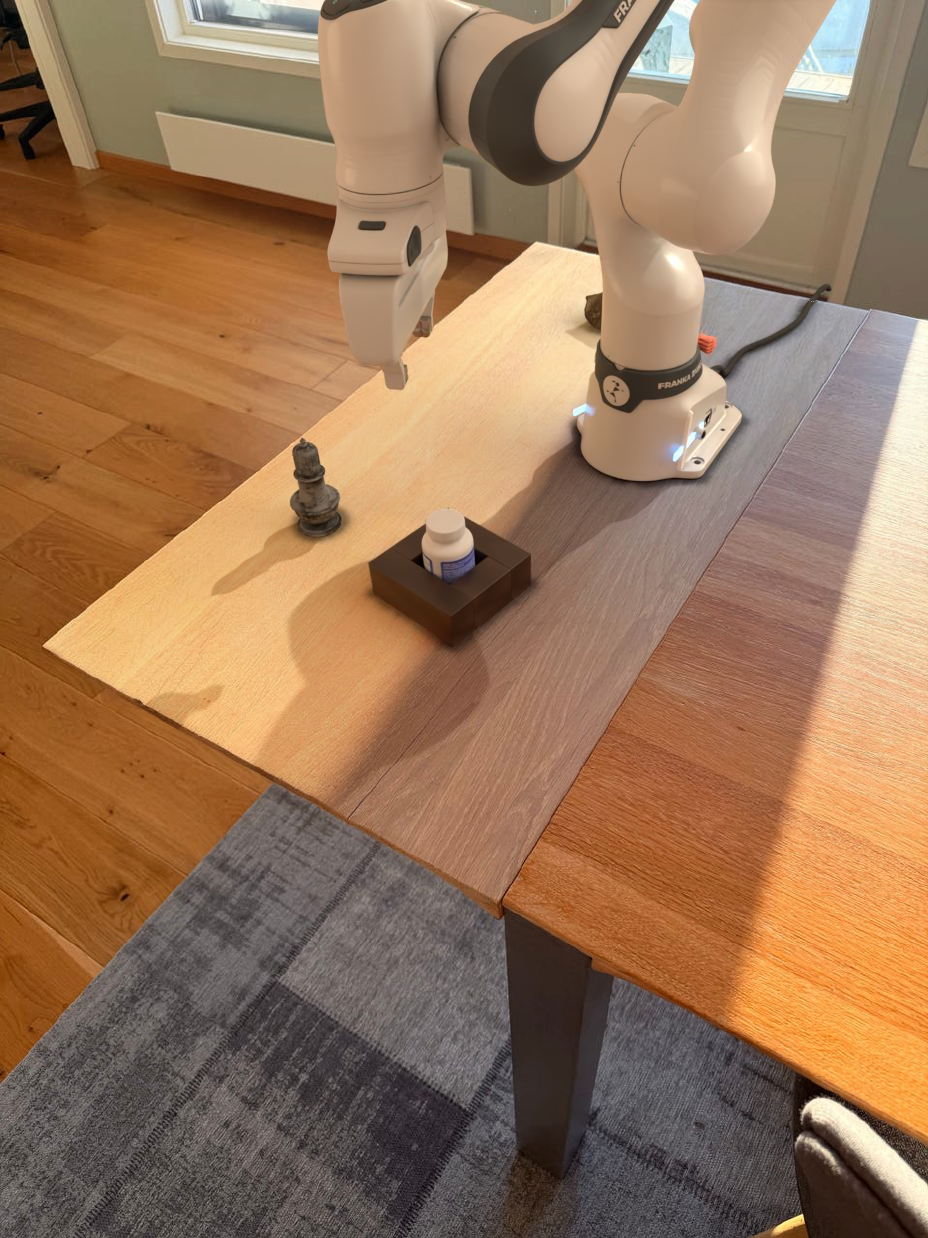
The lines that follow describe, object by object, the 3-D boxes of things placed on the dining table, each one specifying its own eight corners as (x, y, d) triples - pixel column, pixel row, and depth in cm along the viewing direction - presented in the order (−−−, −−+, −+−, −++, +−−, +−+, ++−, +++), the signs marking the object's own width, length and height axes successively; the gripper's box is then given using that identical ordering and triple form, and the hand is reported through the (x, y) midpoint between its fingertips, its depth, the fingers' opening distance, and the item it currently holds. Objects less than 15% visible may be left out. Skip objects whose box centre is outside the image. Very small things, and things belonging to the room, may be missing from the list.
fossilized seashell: (651, 291, 139) (585, 302, 142) (649, 266, 133) (580, 277, 135) (654, 335, 138) (588, 345, 140) (652, 312, 131) (583, 322, 134)
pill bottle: (484, 579, 99) (481, 510, 92) (464, 612, 96) (458, 542, 89) (440, 567, 101) (433, 498, 94) (418, 598, 98) (409, 529, 91)
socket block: (450, 537, 105) (448, 507, 101) (531, 584, 98) (531, 553, 95) (373, 593, 99) (367, 562, 96) (453, 647, 93) (450, 616, 89)
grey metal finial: (336, 540, 105) (319, 455, 97) (288, 536, 106) (267, 451, 98) (350, 509, 109) (335, 424, 101) (304, 505, 110) (285, 420, 102)
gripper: (391, 163, 83) (407, 304, 93) (319, 262, 70) (347, 415, 80) (457, 164, 82) (467, 307, 92) (397, 265, 68) (416, 420, 78)
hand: (411, 358), depth 86 cm, fingers open, 8 cm apart
